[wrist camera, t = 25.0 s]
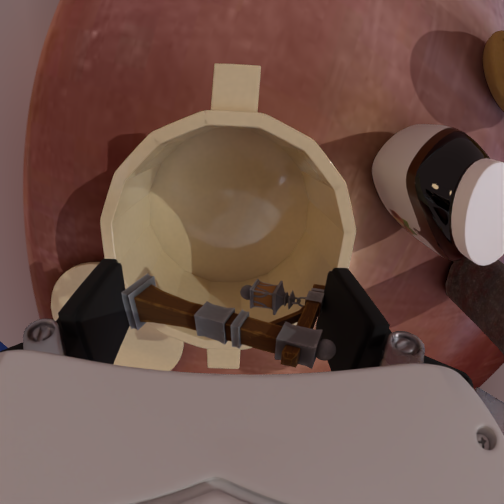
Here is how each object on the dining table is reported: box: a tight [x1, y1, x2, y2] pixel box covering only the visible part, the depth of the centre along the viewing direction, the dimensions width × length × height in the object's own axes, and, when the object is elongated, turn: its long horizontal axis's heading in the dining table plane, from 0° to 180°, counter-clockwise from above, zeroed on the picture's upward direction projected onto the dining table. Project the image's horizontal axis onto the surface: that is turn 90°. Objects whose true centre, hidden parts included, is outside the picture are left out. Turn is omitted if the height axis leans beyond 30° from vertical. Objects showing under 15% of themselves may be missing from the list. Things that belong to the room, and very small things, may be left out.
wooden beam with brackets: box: [121, 273, 336, 369], centre depth 11 cm, size 2×8×4 cm, turn 91°
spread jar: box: [372, 124, 504, 266], centre depth 17 cm, size 12×11×12 cm
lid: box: [51, 262, 184, 371], centre depth 24 cm, size 16×16×7 cm
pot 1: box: [100, 64, 356, 369], centre depth 19 cm, size 15×20×8 cm
